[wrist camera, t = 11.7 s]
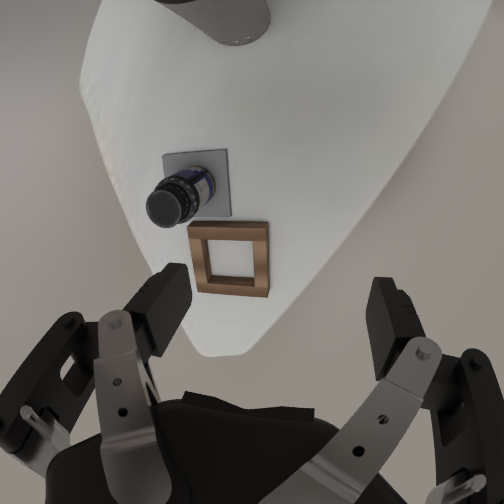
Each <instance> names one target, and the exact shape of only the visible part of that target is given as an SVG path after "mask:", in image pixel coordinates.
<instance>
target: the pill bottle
mask: <svg viewBox="0 0 504 504" xmlns="http://www.w3.org/2000/svg"><path fill="white" fill-rule="evenodd" d="M214 192H215V181H214V178H213V176H212V175H211V174H210V173H209V172H208V171H207V170H206V169H205V168H203V167H200V166H189V167H187V168H184V169H183V170H181V171H179V172H177V173H175V174H173V175H171V176H169V177H167V178H165V179H163V180H162V181H161V182H160V183H158V185H157V186H156V188H155V190H154V192H152V193H151V194H150V195H149V197H148V199H147V202H146V211H147V214H148V216H149V218H150V219H151V221H152V222H153V223H154V224H156V225H157V226H159V227H162V228H171V227H174V226H175V225H176V224H181V223H185V222H187V221H189V220H190V219H191V218H192V217H193V216H194V215H195V214H196V213H197V212H198V211H199V210H200V209H201V208H202V207H203V206H204V205H205V204H206V203H207V202H209V201H210V199H211V198H212V197H213V195H214Z"/></svg>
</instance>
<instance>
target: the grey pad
mask: <svg viewBox="0 0 504 504" xmlns="http://www.w3.org/2000/svg"><path fill="white" fill-rule="evenodd" d="M162 159H163V168H164V176H165V178H167V177H169V176H171V175H173V174H175V173H177V172H179V171H181V170H183V169H184V168H187V167H189V166H200V167H203V168H205V169H206V170H207V171H208V172H209V173H210V174H211V175H212V176H213V178H214V181H215V192H214V195H213V197H212V198H211V199H210V201H209V202H207V203H206V204H205V205H204V206H203V207H202V208H201V209H200V210H199V211H198V212H197V213H196V214H195V215H194V216H193V217H231V216H232V212H231V199H230V186H229V172H228V158H227V150H210V151H197V152H186V153H175V154H166V155H162Z"/></svg>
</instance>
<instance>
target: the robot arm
mask: <svg viewBox="0 0 504 504" xmlns="http://www.w3.org/2000/svg"><path fill="white" fill-rule="evenodd" d="M154 1H156V2H158V3H160V4H162V5H163V6H165V7H166V8H168V9H170V10H171V11H173V12H175V13H176V14H178V15H179V16H181V17H182V18H184V19H185V20H187V21H188V22H190V23H191V24H193V25H194V26H196V27H197V28H199V29H200V30H201V31H203V32H204V33H205V34H207V35H208V36H210V37H211V38H212V39H214V40H215V41H217V42H219V43H221V44H224V45H230V46H239V45H244V44H247V43H250V42H252V41H254V40H256V39H257V38H259V37H260V36H261V35H262V34H263V33H264V32H265V31H266V29H267V27H268V25H269V22H270V12H269V9H268V7H267V4H266V1H265V0H154ZM191 302H192V290H191V284H190V278H189V273H188V268H187V265H186V264H182V263H168V264H167V265H166V266H165V268H164V269H163V270H162V271H161V272H158V273H156V274H155V275H153V276H152V277H150V278H149V279H148V280H147V281H146V282H145V283H144V285H143V286H142V287H141V288H140V289H139V292H137V293H136V294H135V295H134V296H133V298H132V299H131V300H130V301H129V303H128V304H127V305H126V306H125V307H124V309H123V310H114V311H111V312H108V313H106V314H105V315H104V316H103V317H101V319H100V320H99V322H85V320H84V318H83V316H82V314H81V313H79V312H68V313H66V314H64V315H62V316H61V317H60V318H59V319H58V320H57V321H56V322H55V323H54V324H53V326H52V327H51V328H50V329H49V330H48V332H47V333H46V334H45V335H44V336H43V338H42V339H41V340H40V341H39V343H38V344H37V345H36V346H35V348H34V349H33V350H32V351H31V353H30V354H29V355H28V357H27V358H26V359H25V361H24V362H23V363H22V365H21V366H20V367H19V369H18V370H17V371H16V373H15V374H14V375H13V377H12V378H11V380H10V381H9V382H8V384H7V385H6V387H5V388H4V390H3V391H2V393H1V394H0V447H1V448H2V449H3V450H4V451H5V452H6V453H7V454H9V455H10V456H11V457H13V458H14V459H16V460H17V461H19V462H20V463H21V464H23V465H24V466H27V467H28V468H30V469H32V470H33V471H35V472H36V473H38V474H39V475H41V476H42V477H43V478H45V479H46V499H45V504H407V503H406V502H405V501H404V499H403V498H402V497H401V496H400V495H399V494H398V493H397V492H396V491H395V490H394V489H393V488H392V487H391V485H390V484H389V483H388V482H387V481H386V480H385V479H384V478H383V477H382V476H381V475H380V473H379V470H380V469H381V468H382V466H383V465H384V464H385V462H386V461H387V460H388V458H389V457H390V455H391V454H392V452H393V451H394V449H395V448H396V446H397V445H398V443H399V442H400V440H401V439H402V437H403V436H404V434H405V433H406V431H407V429H408V428H409V426H410V424H411V423H412V421H413V419H414V417H415V416H416V414H417V412H418V410H419V409H420V408H423V409H428V410H430V413H431V420H432V428H433V437H434V448H435V461H436V487H435V488H434V489H433V490H432V491H431V492H430V493H429V495H428V497H427V499H426V503H425V504H504V399H503V396H502V393H501V390H500V387H499V384H498V381H497V378H496V375H495V372H494V370H493V367H492V365H491V362H490V360H489V358H488V357H487V356H486V354H484V353H483V352H482V351H480V350H478V349H474V348H473V349H472V348H471V349H467V350H465V351H464V352H463V354H462V356H461V357H460V358H458V357H454V356H449V355H445V354H442V351H441V349H440V347H439V346H438V344H437V343H436V342H434V341H433V340H431V339H429V338H426V335H425V333H424V330H423V328H422V325H421V322H420V320H419V318H418V315H417V314H416V310H415V308H414V307H413V306H414V305H413V303H412V301H411V299H410V297H409V296H408V295H407V294H406V293H405V292H404V291H403V290H397V288H396V285H395V283H394V280H393V278H391V277H374V279H373V283H372V287H371V291H370V295H369V299H368V304H367V308H366V323H367V329H368V333H369V339H370V345H371V351H372V357H373V362H374V370H375V376H376V381H380V382H379V383H378V384H377V386H376V387H375V388H374V390H373V391H372V392H371V394H370V395H369V396H368V397H367V399H366V400H365V401H364V403H363V404H362V405H361V406H360V407H359V409H358V410H357V411H356V412H355V413H354V415H353V416H352V417H351V418H350V419H349V420H348V422H347V423H346V424H345V425H344V426H343V427H342V429H338V428H337V427H335V426H334V425H332V424H330V423H328V422H326V421H324V420H321V419H318V418H315V417H314V410H315V409H313V408H296V407H284V406H280V407H271V408H260V409H243V408H240V407H238V406H235V405H233V404H230V403H228V402H226V401H223V400H221V399H218V398H216V397H212V396H207V395H202V394H197V393H193V392H188V391H185V393H184V395H183V398H182V399H175V400H167V401H163V402H162V401H161V399H160V396H159V393H158V390H157V387H156V384H155V380H154V377H153V373H152V370H151V366H150V363H149V361H148V359H149V358H150V356H151V355H152V356H157V357H162V355H163V353H164V352H165V350H166V348H167V346H168V344H169V342H170V341H171V339H172V337H173V335H174V334H175V332H176V330H177V328H178V327H179V325H180V323H181V321H182V320H183V318H184V316H185V314H186V313H187V311H188V309H189V307H190V305H191ZM70 355H71V357H72V358H73V360H74V361H75V362H74V364H73V365H72V367H71V368H70V370H69V371H68V373H67V374H66V376H65V377H64V379H63V380H62V379H61V377H60V370H61V368H62V366H63V365H64V363H65V362H66V360H67V359H68V357H69V356H70ZM94 388H95V389H96V399H97V408H98V415H99V422H100V428H101V433H99V434H96V435H95V436H93V437H90V438H88V439H86V440H84V441H82V442H79V443H77V444H75V445H73V446H71V444H70V435H69V434H70V433H71V431H72V429H73V427H74V425H75V423H76V421H77V419H78V417H79V415H80V414H81V412H82V410H83V408H84V406H85V404H86V402H87V401H88V399H89V397H90V396H91V394H92V392H93V390H94Z"/></svg>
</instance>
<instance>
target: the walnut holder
mask: <svg viewBox="0 0 504 504" xmlns="http://www.w3.org/2000/svg"><path fill="white" fill-rule="evenodd" d="M187 231H188V237H189V244H190V250H191V256H192V262H193V268H194V274H195V279H196V285H197V290H198V292H202V293H213V294H225V295H237V296H250V297H265V298H268V294H269V289H270V282H269V234H268V222H240V221H192V222H191V223H190V224H189V225H188V226H187ZM207 240H238V241H253V260H254V278H245V277H229V276H214V275H212V274H211V267H210V259H209V252H208V244H207Z"/></svg>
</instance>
